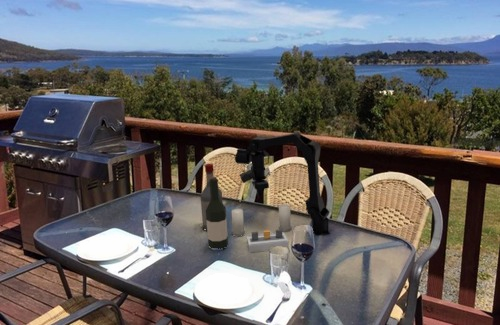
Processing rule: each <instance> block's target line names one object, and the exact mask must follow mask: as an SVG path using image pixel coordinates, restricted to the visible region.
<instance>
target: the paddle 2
mask: <svg viewBox="0 0 500 325" xmlns="http://www.w3.org/2000/svg"><path fill="white" fill-rule="evenodd" d="M275 233H276V238H279V237H282V229H279V228H277V229H275Z"/></svg>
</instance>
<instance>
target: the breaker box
mask: <svg viewBox="0 0 500 325" xmlns="http://www.w3.org/2000/svg"><path fill="white" fill-rule="evenodd" d="M247 244H248V245H247ZM246 245H247V247H248V252H249V251H250V252H249V253H257V252H258V251H259V252H267V251H268V250H269V249H270V248H271V247H276V246H282V247H287V248H288V249H289V248H290V246H289V240H288V238H287V236H286V233H285V232H282V237H279V238H276V232H272V233H271V232H270V238H269V239H264V233H261V234H259V233H258V240H252V234H251V235H246ZM269 251H270V250H269Z"/></svg>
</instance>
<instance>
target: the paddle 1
mask: <svg viewBox="0 0 500 325" xmlns="http://www.w3.org/2000/svg"><path fill="white" fill-rule="evenodd" d="M251 235H252V240H258V235H259V232H258V230H257V231H252V232H251Z"/></svg>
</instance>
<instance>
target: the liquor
mask: <svg viewBox="0 0 500 325" xmlns="http://www.w3.org/2000/svg"><path fill="white" fill-rule="evenodd" d="M204 169H205V170H204V171H205V174H206V175H205V176H206V185H205V187H204V188H203V189H202V192H201V194H200V207H201V220H202V228H204V229H206V230H207V221H206V209H207V207H208V205H209V203H210V201H211V195H210V182H209V180H210V178H211V177H214V171H215V170H214V164H213V163H207V164H205V165H204ZM218 190H219V199H220V200H221V202H222V203H223V204H224V202H223V192H222V190H221V189H220V188H219V187H218ZM204 229H203V230H204ZM206 230H205V231H206Z"/></svg>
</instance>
